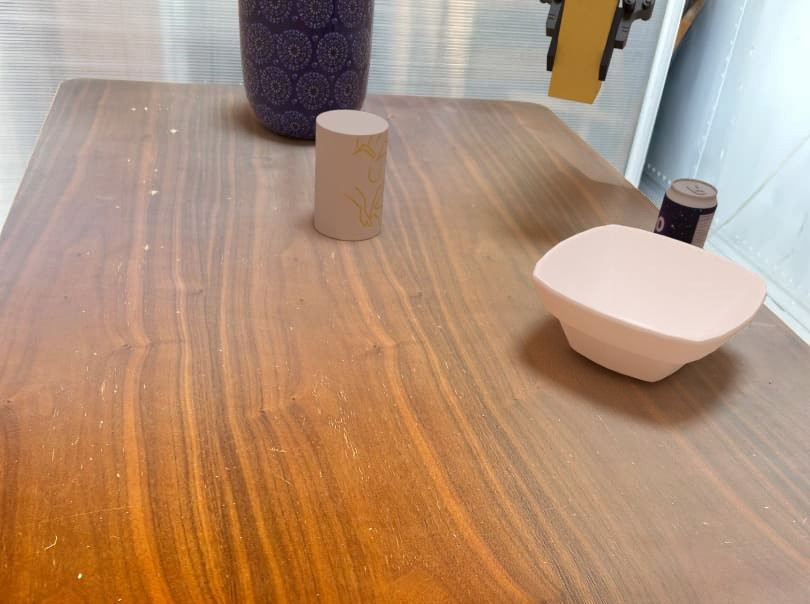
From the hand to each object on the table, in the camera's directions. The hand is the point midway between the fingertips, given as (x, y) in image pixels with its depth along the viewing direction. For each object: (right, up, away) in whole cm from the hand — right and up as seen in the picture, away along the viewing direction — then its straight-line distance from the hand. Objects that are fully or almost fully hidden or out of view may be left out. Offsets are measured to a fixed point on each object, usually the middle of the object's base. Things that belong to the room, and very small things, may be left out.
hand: (576, 68), depth 94 cm
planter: (-33, +11, +37) cm, 51 cm away
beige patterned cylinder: (-25, -12, +13) cm, 31 cm away
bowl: (+5, -31, -3) cm, 32 cm away
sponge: (+1, 0, +5) cm, 5 cm away
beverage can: (+12, -22, +8) cm, 26 cm away
